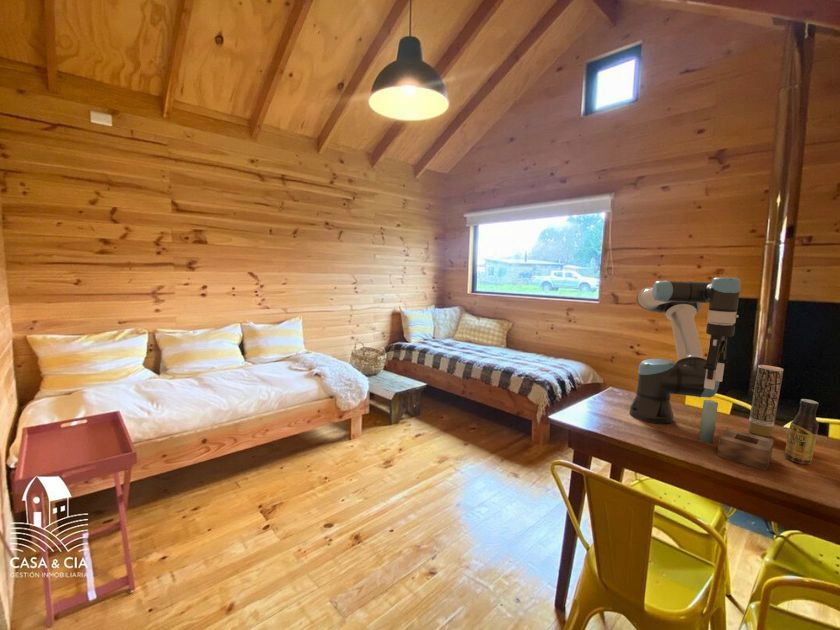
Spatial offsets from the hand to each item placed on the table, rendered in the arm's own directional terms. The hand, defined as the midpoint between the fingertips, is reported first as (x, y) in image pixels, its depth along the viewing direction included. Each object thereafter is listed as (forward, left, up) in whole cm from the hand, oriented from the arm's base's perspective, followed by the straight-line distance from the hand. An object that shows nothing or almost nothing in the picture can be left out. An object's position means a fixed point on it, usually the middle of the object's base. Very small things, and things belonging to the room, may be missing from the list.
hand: (713, 384), depth 133 cm
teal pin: (0, 0, -20) cm, 20 cm away
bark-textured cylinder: (+12, +22, -20) cm, 32 cm away
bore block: (+11, -5, -20) cm, 23 cm away
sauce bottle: (+23, +5, -20) cm, 31 cm away
